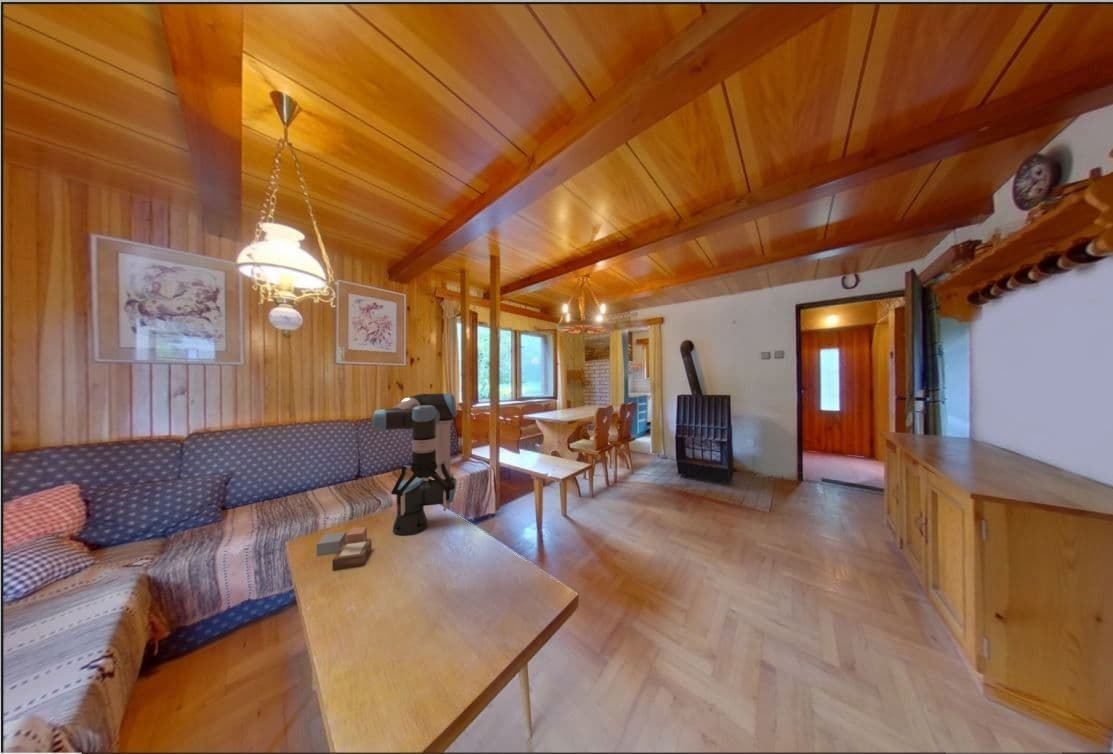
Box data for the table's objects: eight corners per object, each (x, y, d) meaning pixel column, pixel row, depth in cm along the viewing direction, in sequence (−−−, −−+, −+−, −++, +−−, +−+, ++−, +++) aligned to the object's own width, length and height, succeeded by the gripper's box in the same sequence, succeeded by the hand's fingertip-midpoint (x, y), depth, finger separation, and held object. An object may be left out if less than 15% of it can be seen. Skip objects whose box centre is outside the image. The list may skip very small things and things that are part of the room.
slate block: (324, 545, 133) (324, 534, 133) (346, 542, 136) (346, 531, 136) (316, 556, 126) (316, 544, 126) (339, 552, 128) (339, 540, 128)
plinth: (344, 552, 128) (344, 542, 128) (371, 548, 131) (371, 539, 131) (332, 570, 116) (332, 559, 116) (362, 565, 119) (362, 555, 119)
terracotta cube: (351, 541, 136) (351, 528, 136) (366, 539, 138) (366, 526, 138) (346, 549, 131) (346, 535, 130) (362, 546, 132) (362, 533, 132)
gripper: (380, 455, 100) (381, 520, 100) (461, 451, 106) (461, 512, 106) (387, 449, 107) (387, 510, 108) (462, 446, 113) (462, 503, 114)
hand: (424, 511), depth 107 cm, fingers open, 13 cm apart
